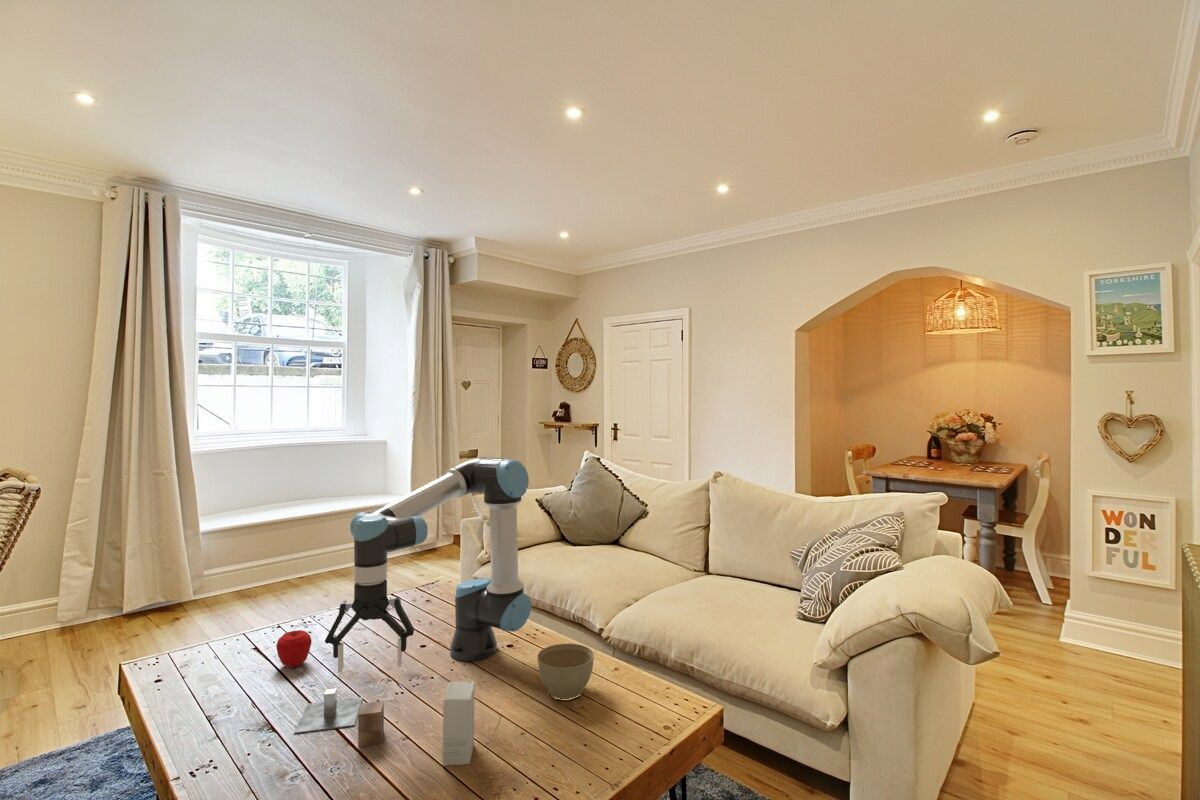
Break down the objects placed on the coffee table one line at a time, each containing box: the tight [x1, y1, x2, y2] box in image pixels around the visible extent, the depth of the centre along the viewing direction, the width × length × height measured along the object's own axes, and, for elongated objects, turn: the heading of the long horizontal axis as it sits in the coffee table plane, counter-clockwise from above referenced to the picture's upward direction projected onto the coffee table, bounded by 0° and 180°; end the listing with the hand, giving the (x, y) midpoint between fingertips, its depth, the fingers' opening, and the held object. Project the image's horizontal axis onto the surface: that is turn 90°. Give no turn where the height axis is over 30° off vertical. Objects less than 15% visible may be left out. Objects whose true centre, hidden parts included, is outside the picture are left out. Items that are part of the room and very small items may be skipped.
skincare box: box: [442, 680, 476, 767], centre depth 135 cm, size 8×7×16 cm
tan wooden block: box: [357, 700, 385, 748], centre depth 142 cm, size 5×5×8 cm
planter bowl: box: [537, 642, 595, 699], centre depth 164 cm, size 16×16×11 cm
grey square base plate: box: [293, 687, 363, 735], centre depth 152 cm, size 14×14×6 cm
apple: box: [275, 629, 312, 668], centre depth 181 cm, size 10×10×11 cm
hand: (370, 667), depth 141 cm, fingers open, 13 cm apart
